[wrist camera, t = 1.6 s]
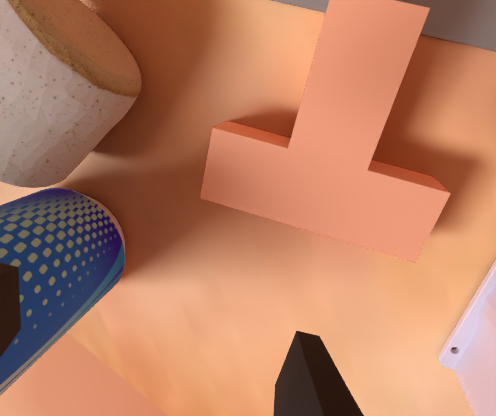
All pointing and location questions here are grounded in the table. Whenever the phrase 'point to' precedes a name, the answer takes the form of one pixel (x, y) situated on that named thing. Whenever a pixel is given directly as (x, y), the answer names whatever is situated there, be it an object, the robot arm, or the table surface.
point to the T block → (336, 141)
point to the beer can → (56, 267)
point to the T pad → (444, 19)
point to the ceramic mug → (58, 88)
